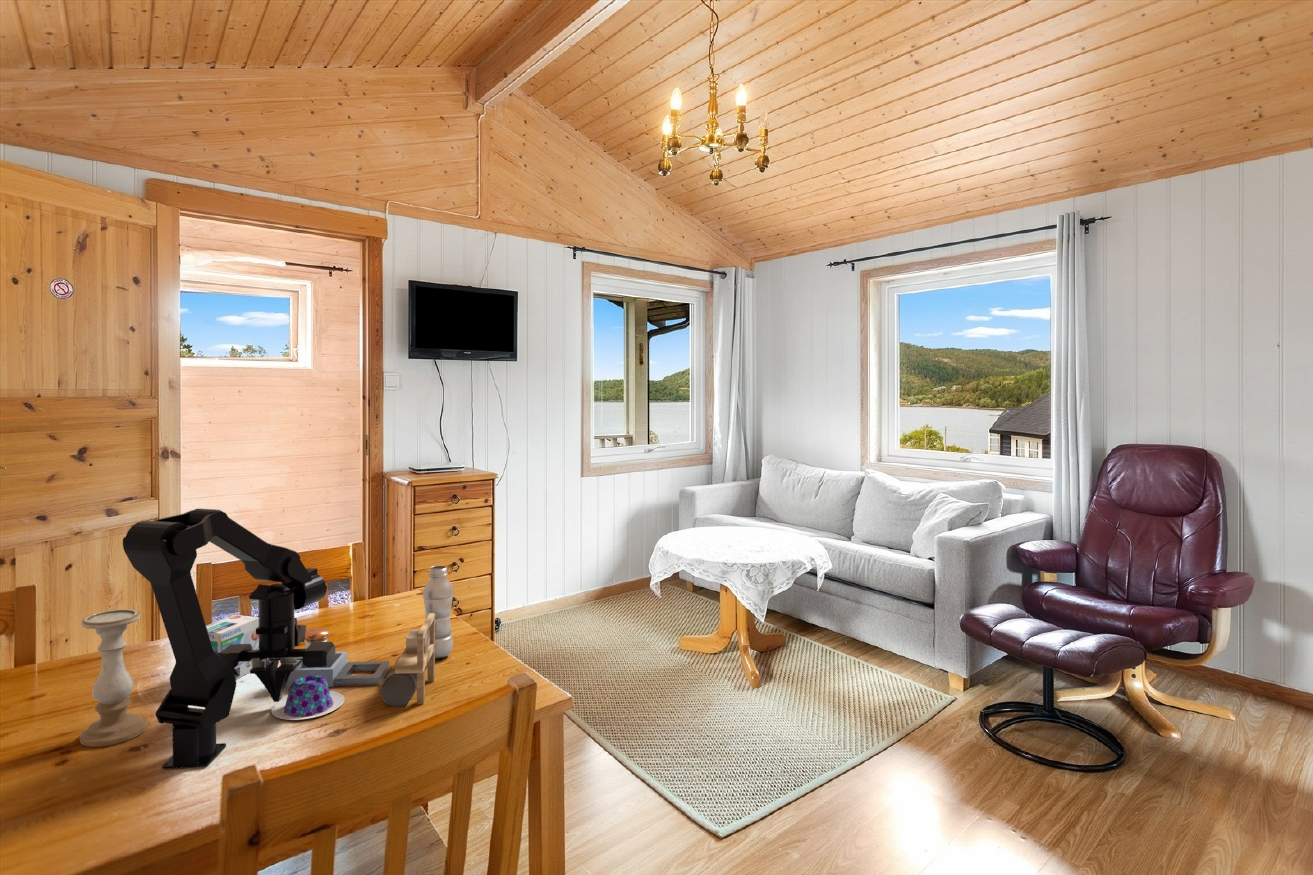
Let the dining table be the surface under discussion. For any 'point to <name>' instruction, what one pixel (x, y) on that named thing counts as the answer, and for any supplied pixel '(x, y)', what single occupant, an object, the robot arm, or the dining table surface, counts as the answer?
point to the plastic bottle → (440, 608)
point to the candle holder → (112, 682)
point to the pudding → (308, 699)
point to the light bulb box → (235, 637)
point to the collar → (354, 680)
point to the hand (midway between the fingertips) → (277, 701)
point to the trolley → (412, 667)
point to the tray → (321, 670)
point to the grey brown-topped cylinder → (316, 638)
